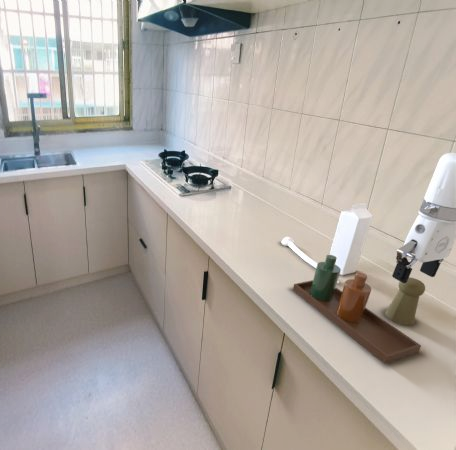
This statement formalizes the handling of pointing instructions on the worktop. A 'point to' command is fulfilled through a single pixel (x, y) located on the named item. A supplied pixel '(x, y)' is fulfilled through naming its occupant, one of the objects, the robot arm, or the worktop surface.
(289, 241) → the spatula
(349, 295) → the amber bottle
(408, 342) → the tray
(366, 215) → the milk
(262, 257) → the worktop surface
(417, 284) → the cork
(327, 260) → the green bottle
